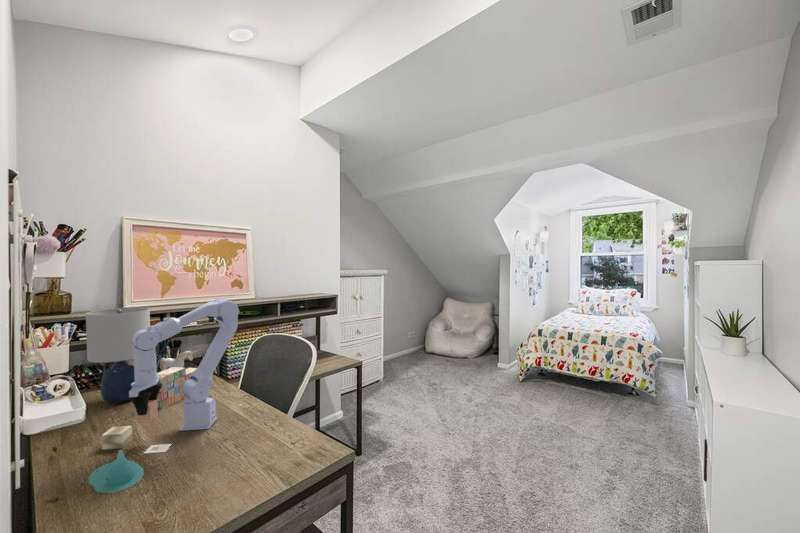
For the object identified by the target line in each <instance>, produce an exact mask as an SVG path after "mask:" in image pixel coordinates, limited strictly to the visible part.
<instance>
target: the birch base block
mask: <svg viewBox="0 0 800 533" xmlns="http://www.w3.org/2000/svg"><path fill="white" fill-rule="evenodd" d="M132 440H133V425H122V426H121V425H120V426H112V427H110V428H109V429H107V431H106V432H104V433H103V434H102V435H101V450H113V449H122V448H124V447H126V446H127V444H129V443H130V442H131V441H132Z"/></svg>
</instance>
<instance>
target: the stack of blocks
mask: <svg viewBox="0 0 800 533" xmlns="http://www.w3.org/2000/svg"><path fill="white" fill-rule="evenodd" d="M168 368H169V367H168ZM168 368H166V370H164V371H162V372H160V371H159V372H157V375H161V381H159V382H158V383H162V387H161V389H160V391H159V394H158V397H157V405H158V409H161V410H162V409H164V408H167V407H169V406H171V405H172V404H173V405H174V404H175V403H177V402H178V401H181V400H184V398H185V394H183V393H182V391H181V386H182V383H183V382H184V381H185V380H186V379H187V378H189V376H190V375H191V373H192V372H193V371H195V370H196V369H197V368H198V367H187V368H186V367H183V368H180V367H172V368H169V369H168Z"/></svg>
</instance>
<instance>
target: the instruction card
mask: <svg viewBox="0 0 800 533" xmlns="http://www.w3.org/2000/svg"><path fill="white" fill-rule="evenodd" d="M172 444H173V443H167V444H165V443H163V444H153V445H152V444H151V445H150V446H149V447H148V448H147V449H146V450H145V451H144V452H143V453H142V454H143V455H144V454H145V455H146V454H156V453H157V454H160V453H161V454H162V453H166V452H167V451H168V450H169V449H170V448H171V447H172V446H171V445H172ZM170 446H171V447H170ZM169 447H170V448H169Z"/></svg>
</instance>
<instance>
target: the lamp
mask: <svg viewBox="0 0 800 533" xmlns="http://www.w3.org/2000/svg"><path fill="white" fill-rule="evenodd" d="M150 314H151V311H150V308H149V307H146V306H145V307H144V306H143V307H141V306H140V307H139V306H138V307H137V306H134V307H133V306H132V307H129V306H128V307H114V308H106V309H97V310H92V311H91V310H90V311H88V312H87V311H86V312H85V327H86V328H85V330H86V332H85V333H86V358H87V359H86V360H87V362H89V363H97V364H98V363H113V365H112V366H110V367H108V368H107V369H106V370H105V371H104V373H103V374H102V376H101V377H102V378H101V383H100V393H101V397H102V399H103V401H104V402H106V403H108V404H121V403H127V402H130V401H131V399H130V398H129V391H130V390H131V389H132V387H133V386H131V383H133V382H135V376H134V364H129V362H128V361H129V360H134V347H135V346H134V345H133V344H132V343H131V339H132V337H133V335H134V334H135V333H136V332H137V331H139V330H147V329H148V328H147V327H148V326H151V315H150Z"/></svg>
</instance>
